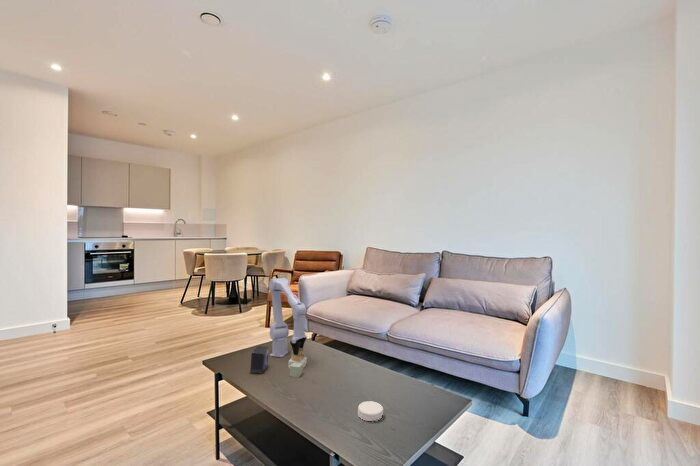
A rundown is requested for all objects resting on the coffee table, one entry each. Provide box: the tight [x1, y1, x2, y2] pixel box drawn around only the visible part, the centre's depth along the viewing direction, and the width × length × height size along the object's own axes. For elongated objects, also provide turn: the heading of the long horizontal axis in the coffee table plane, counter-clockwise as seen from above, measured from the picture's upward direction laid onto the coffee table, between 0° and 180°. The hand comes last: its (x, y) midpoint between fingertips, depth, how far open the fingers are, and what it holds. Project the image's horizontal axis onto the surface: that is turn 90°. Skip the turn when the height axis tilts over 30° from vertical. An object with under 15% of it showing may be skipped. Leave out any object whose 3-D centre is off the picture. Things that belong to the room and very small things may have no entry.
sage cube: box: [289, 362, 304, 378], centre depth 165 cm, size 5×5×5 cm
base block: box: [287, 356, 308, 370], centre depth 176 cm, size 8×8×4 cm
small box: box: [249, 345, 270, 375], centre depth 169 cm, size 11×6×10 cm, turn 179°
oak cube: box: [290, 347, 305, 361], centre depth 176 cm, size 5×5×5 cm
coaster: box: [357, 400, 384, 421], centre depth 130 cm, size 10×10×4 cm
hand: (298, 352), depth 176 cm, fingers open, 6 cm apart
